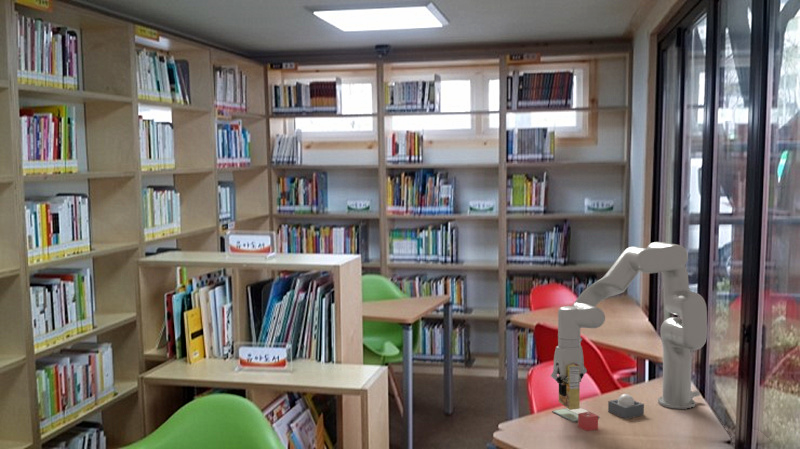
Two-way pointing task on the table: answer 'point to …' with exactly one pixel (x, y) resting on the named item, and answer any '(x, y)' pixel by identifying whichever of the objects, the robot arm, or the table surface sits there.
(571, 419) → the striped board
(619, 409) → the housing
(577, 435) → the table surface
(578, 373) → the candy box
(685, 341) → the robot arm
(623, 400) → the white round ball
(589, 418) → the red die
